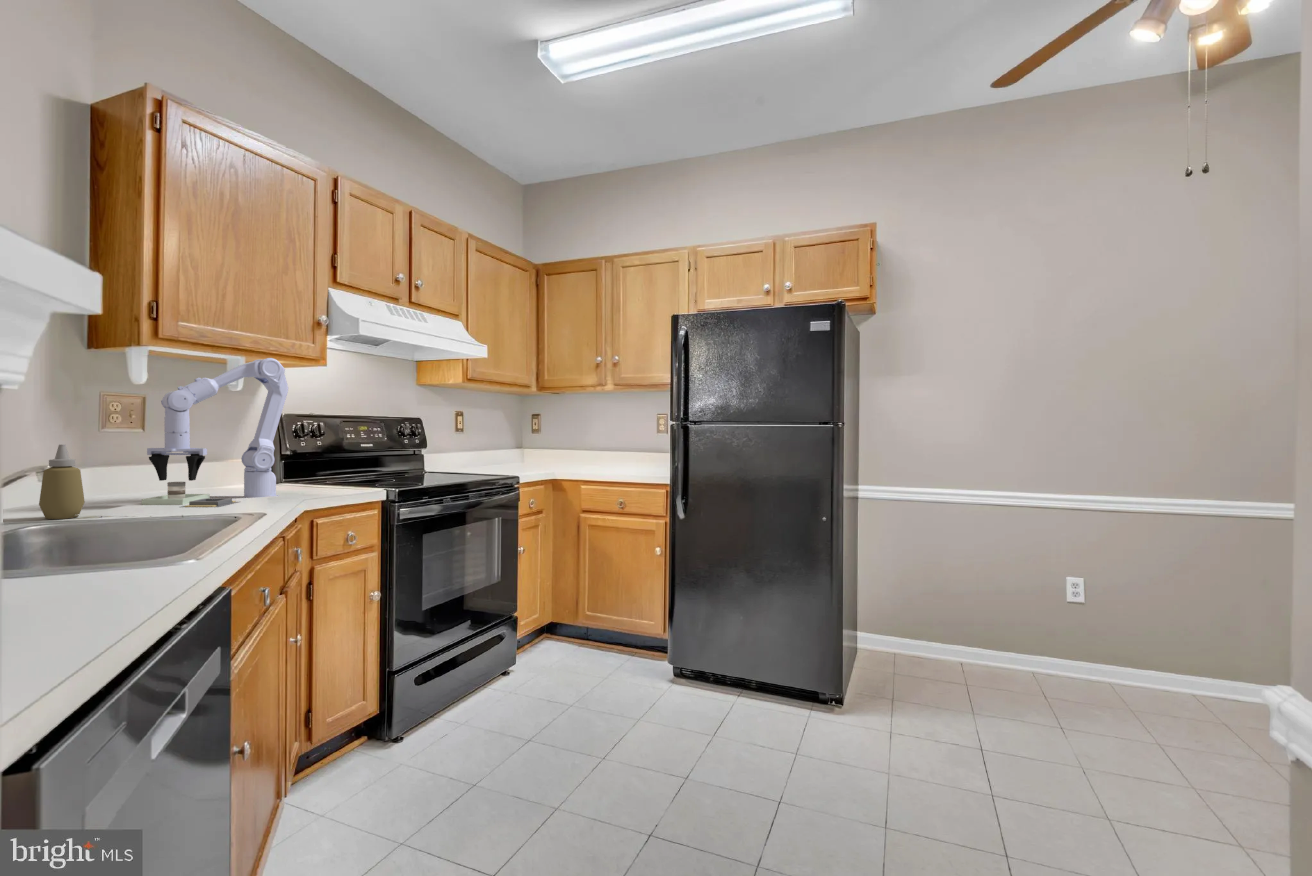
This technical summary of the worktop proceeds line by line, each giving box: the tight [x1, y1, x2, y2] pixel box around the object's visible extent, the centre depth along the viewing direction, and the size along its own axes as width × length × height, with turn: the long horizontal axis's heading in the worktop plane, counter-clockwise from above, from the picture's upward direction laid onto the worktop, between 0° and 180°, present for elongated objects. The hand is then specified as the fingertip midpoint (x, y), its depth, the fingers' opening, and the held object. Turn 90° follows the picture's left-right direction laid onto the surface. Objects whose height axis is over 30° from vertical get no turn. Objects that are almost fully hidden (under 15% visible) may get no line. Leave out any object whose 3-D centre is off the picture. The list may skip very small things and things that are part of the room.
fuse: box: [166, 481, 187, 499], centre depth 176 cm, size 4×4×6 cm
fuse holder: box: [180, 497, 240, 508], centre depth 172 cm, size 12×10×2 cm
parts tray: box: [141, 493, 211, 506], centre depth 176 cm, size 13×10×2 cm
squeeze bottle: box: [38, 444, 86, 520], centre depth 151 cm, size 8×8×18 cm
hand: (177, 480), depth 176 cm, fingers open, 7 cm apart
